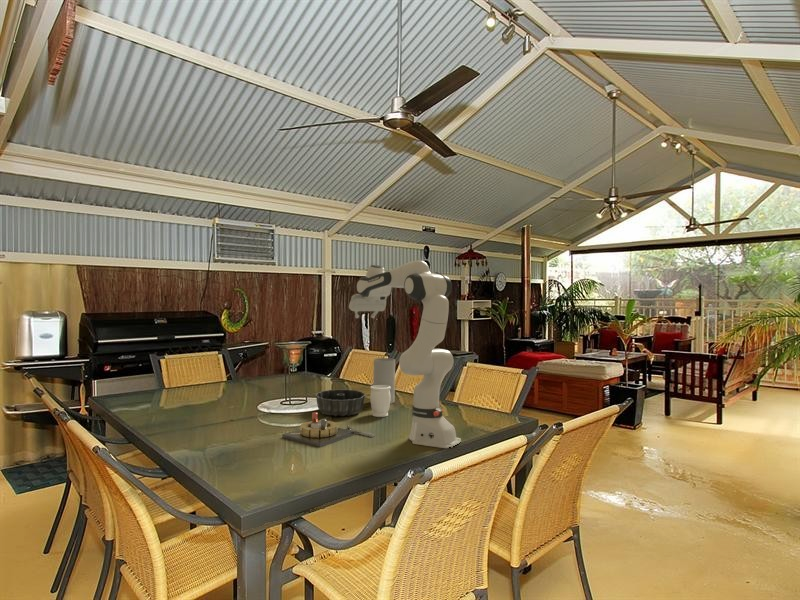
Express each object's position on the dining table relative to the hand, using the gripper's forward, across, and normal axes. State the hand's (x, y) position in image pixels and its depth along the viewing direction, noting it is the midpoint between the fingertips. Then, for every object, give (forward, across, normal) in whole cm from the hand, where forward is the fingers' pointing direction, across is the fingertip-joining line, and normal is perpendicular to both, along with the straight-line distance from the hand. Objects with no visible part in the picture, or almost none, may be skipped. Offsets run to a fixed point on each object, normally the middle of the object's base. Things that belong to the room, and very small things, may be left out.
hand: (364, 317), depth 253 cm
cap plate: (+33, -37, -48) cm, 69 cm away
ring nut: (+31, -37, -48) cm, 68 cm away
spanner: (+30, -19, -54) cm, 65 cm away
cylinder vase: (+52, +22, -8) cm, 57 cm away
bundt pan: (+48, -11, -17) cm, 52 cm away
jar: (+41, +5, -31) cm, 52 cm away
